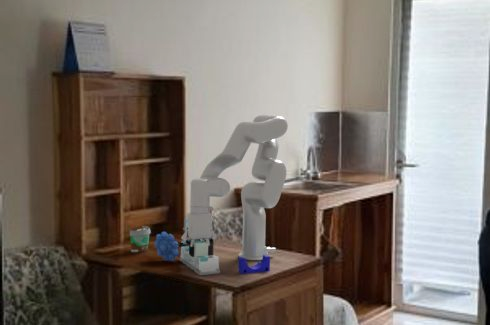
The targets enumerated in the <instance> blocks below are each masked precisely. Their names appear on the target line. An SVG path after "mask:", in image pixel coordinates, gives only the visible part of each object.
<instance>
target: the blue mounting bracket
mask: <svg viewBox="0 0 490 325" xmlns="http://www.w3.org/2000/svg"><path fill="white" fill-rule="evenodd" d="M270 269H271V256H270V255H269V254H268V255H263V258H262V260H260V261H258V262H257V263H255V264H254V265H252V266H249V264H247V260H246V259H245V258H243V257H239V256H238V273H239V274H241V275H245V274H254V273H255V274H256V273H263V272H270V271H271V270H270Z"/></svg>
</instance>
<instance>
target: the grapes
mask: <svg viewBox="0 0 490 325" xmlns="http://www.w3.org/2000/svg"><path fill="white" fill-rule="evenodd" d="M155 238H156V240H155V241H154V243H153V245H154V247H155V248H156V254H157V256H160V257H161V258H162V259H163V261H165V262H168V261H169V260H170V261H171V262H174V261H176V257H178V256H179V255H180V251H179V250H178V248H179V243H178V241H176V240H175V236H174V235H173V234H171V233H169V234H168V232H166V231H161V233H157V234H156V236H155Z"/></svg>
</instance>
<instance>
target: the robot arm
mask: <svg viewBox="0 0 490 325" xmlns="http://www.w3.org/2000/svg"><path fill="white" fill-rule="evenodd" d="M288 124H289V123H288V121H287V120H286V118H284V117H283V116H279V115H270V114H269V115H266V114H260V115H257V116H255V117H254V119H253V121H241V122H239V123H238V124H237V125H236V127H235V128H234V130H233V132H232V133H231V135H230V137H229V140H228V141H227V143H226V145H225V147H224V148H223V150H222V151H221V153H219V154H218V155H216V157H214V158H213V159H212V160H211V161H210V162H209V163H207V165H206V167H205V168H204V170H203V171H202V173H201V175H200V177H199V178H194V179H192V180H191V182H190V203H189V205H190V206H189V207H190V209H189V212H188V214H187V217H186V219H187V222H186V230H184V231H185V232H184V233H183V235H182V236H181V237H180V240H181V241H185V242H186V243H187V244H188V245H187V246H189V254H190V256H192V257H194V247H193V244H194V241H195V239H204V241H206V242H207V243H208V253H209V246H210V244H211V243H212V242H213V240H214V241H215V240H216V239H217V238H218V236H217V234H216V233H215V230H214V231H213V227H212V220H213V217H212V215H211V213H209V212H210V211H211V210H212V211H213V206H210V205H211V204H210V203H211V200H210V199H211V197H217V198H222V197H225V196H227V195H228V193H230V191H231V190H230V189H231V185H230V183H229V182H228V181H227V180H226V179H225V178H223V177H219V176H220V175H221V174H222V173H223V172H224V171H225V170H226V169H227V170H228V168H231V167H234V166H236V165H237V164H240V163H241V162H242V161H243V158H244V157H245V155H246V153H247V152H248V150H249V147H250V146H251V144H257V145H258V148H257V151H256V155H255V159H254V162H253V163H252V168H251V175H252V177H253V178H254V179H256V180H258V181H263V182H264V183H262V182H256V181H255V182H253V181H252V182H251V181H250V182H248V183H246V184H244V185H243V187H242V189H241V190H240V191H241V192H240V197H241V205H242V249H241V250H242V251H241V252H239V253H238V258H239V257H243V258H245V259H246V261H262V258H263V255H268V256H269V254H270V253H275V252H276V251H277V249H276V247H270V246H266V226H267V225H266V222H267V221H266V220H267V219H266V217H267V215H266V211H265V209H273V208H274V207H276V205H277V204H278V202H279V200H280V198H281V194H282V191H283V188H284V185H285V182H286V178H287V167H286V164H285V162H283V161H281V160H280V159H277V157H278V153H279V147H280V146H279V142H278V139H279V138H281V137H283V136H284V135H285V134H286V133H287V131H288V126H289V125H288Z"/></svg>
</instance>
